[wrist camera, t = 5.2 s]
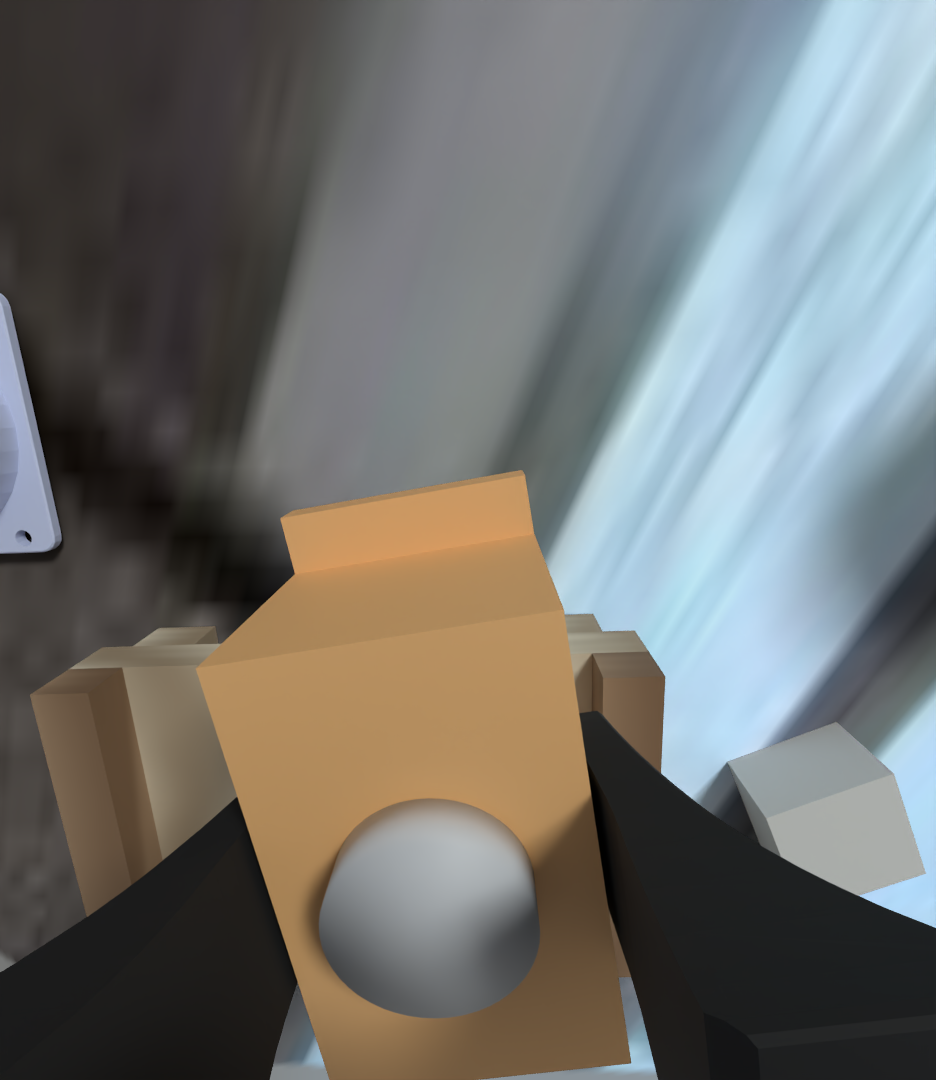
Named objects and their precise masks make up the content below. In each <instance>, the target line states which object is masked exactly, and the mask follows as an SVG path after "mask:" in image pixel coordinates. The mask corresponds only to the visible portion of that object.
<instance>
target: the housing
mask: <svg viewBox="0 0 936 1080" xmlns="http://www.w3.org/2000/svg"><path fill="white" fill-rule="evenodd" d="M280 519H281V523H282V527H283V530H284V534H285V538H286V542H287V545H288V549H289V553H290V557H291V560H292V564H293V568H294V571H295V575H294V576H293V577H292V578H291V579H289V580H288V581H287V582H286V583H285V584H284V585H283V586H282V587H281V588H280V589H279V590H278V591H277V592H276V593H275V594H274V595H273V596H272V597H270V598H269V599H268V600H267V601H266V602H265V603H264V604H263V605H262V606H261V607H260V608H259V609H258V610H257V611H256V612H255V613H254V614H253V615H252V616H250V617H249V618H248V619H247V620H246V621H245V622H244V623H243V624H242V625H241V626H240V627H239V628H238V629H237V630H236V631H235V632H234V633H233V634H231V635H230V636H229V637H228V638H227V639H226V640H225V641H224V642H223V643H222V644H221V645H220V646H219V647H218V648H217V649H216V650H215V651H214V652H213V653H211V654H210V655H209V656H208V657H207V658H206V659H205V660H204V661H203V662H202V663H201V664H200V665H199V666H198V667H197V668H196V671H197V674H198V677H199V680H200V683H201V687H202V690H203V693H204V696H205V699H206V702H207V705H208V708H209V711H210V714H211V717H212V720H213V723H214V726H215V730H216V733H217V736H218V739H219V742H220V745H221V748H222V751H223V754H224V757H225V760H226V763H227V766H228V769H229V773H230V776H231V779H232V782H233V785H234V788H235V791H236V794H237V797H238V800H239V803H240V806H241V809H242V812H243V815H244V819H245V822H246V825H247V828H248V831H249V834H250V837H251V840H252V843H253V846H254V849H255V852H256V855H257V858H258V862H259V865H260V868H261V871H262V874H263V877H264V880H265V883H266V886H267V889H268V892H269V895H270V898H271V901H272V905H273V908H274V911H275V914H276V917H277V920H278V923H279V926H280V929H281V932H282V935H283V938H284V941H285V944H286V948H287V951H288V954H289V957H290V960H291V963H292V966H293V969H294V972H295V975H296V978H297V981H298V984H299V987H300V990H301V994H302V997H303V1000H304V1003H305V1006H306V1009H307V1012H308V1015H309V1018H310V1021H311V1024H312V1027H313V1030H314V1033H315V1037H316V1040H317V1043H318V1046H319V1049H320V1052H321V1055H322V1058H323V1061H324V1064H325V1067H326V1070H327V1073H328V1076H329V1079H330V1080H479V1079H489V1078H498V1077H508V1076H517V1075H526V1074H536V1073H545V1072H554V1071H564V1070H573V1069H583V1068H592V1067H601V1066H611V1065H620V1064H629V1063H631V1058H630V1052H629V1045H628V1038H627V1031H626V1025H625V1018H624V1011H623V1005H622V998H621V991H620V984H619V978H618V971H617V964H616V957H615V951H614V944H613V937H612V931H611V924H610V917H609V910H608V904H607V897H606V890H605V884H604V877H603V870H602V863H601V857H600V850H599V843H598V837H597V830H596V823H595V816H594V810H593V803H592V796H591V790H590V783H589V776H588V769H587V763H586V756H585V749H584V743H583V736H582V729H581V722H580V716H579V709H578V702H577V696H576V689H575V682H574V675H573V669H572V662H571V655H570V649H569V642H568V635H567V628H566V622H565V615H564V609H563V606H562V604H561V601H560V599H559V596H558V594H557V591H556V589H555V586H554V583H553V581H552V578H551V576H550V573H549V571H548V568H547V566H546V563H545V560H544V558H543V555H542V553H541V550H540V548H539V545H538V543H537V540H536V537H535V535H534V531H533V524H532V518H531V511H530V505H529V499H528V492H527V486H526V480H525V475H524V473H523V471H522V470H519V471H514V472H508V473H503V474H497V475H491V476H486V477H480V478H474V479H469V480H463V481H457V482H452V483H446V484H440V485H435V486H429V487H424V488H418V489H412V490H407V491H401V492H395V493H390V494H384V495H378V496H373V497H367V498H362V499H356V500H350V501H345V502H339V503H333V504H328V505H322V506H316V507H311V508H305V509H300V510H294V511H292V512H290V513H288V514H287V515H285V516H283V517H282V518H280Z"/></svg>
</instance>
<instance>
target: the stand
mask: <svg viewBox="0 0 936 1080" xmlns="http://www.w3.org/2000/svg"><path fill="white" fill-rule="evenodd" d="M565 622H566V628H567V635H568V642H569V649H570V655H571V662H572V669H573V675H574V682H575V689H576V696H577V702H578V709H579V713H584V712H591V711H598V712H599V713H601V714H602V715H603V716H604V717H605V718H606V719H607V720H608V722H609V723H610V724H611V725H612V726H613V727H614V728H615V729H616V730H617V732H618V733H619V734H620V735H621V736H622V737H623V738H624V739H625V740H626V741H627V742H628V743H629V744H630V745H631V746H632V747H633V748H634V749H635V750H636V751H637V752H638V753H639V754H640V755H641V756H642V757H643V758H645V759H646V760H647V761H648V762H649V763H650V764H651V765H652V766H653V767H654V768H656V769H657V770H658V771H659V772H660V773H661V758H662V736H663V714H664V692H665V675H664V674H663V672H662V671H661V669H660V668H659V666H658V665H657V663H656V662H655V660H654V659H653V657H652V656H651V654H650V653H649V651H648V650H647V648H646V647H645V645H644V644H643V642H642V641H641V639H640V638H639V636H638V635H637V633H636V632H635V631H607V632H602V630H601V628H600V626H599V624H598V622H597V620H596V618H595V617H594V615H593V614H576V615H565ZM220 645H221V644H218V639H217V633H216V626H208V627H177V628H158V629H157V630H155V631H154V632H153V633H151V634H150V635H148V636H147V637H146V638H144V639H143V640H141V641H140V642H138V643H137V644H136V645H134V646H132V647H102V648H101V649H99V650H98V651H96V652H95V653H93V654H92V655H90V656H89V657H87V658H86V659H84V660H82V661H81V662H79V663H78V664H76V665H75V666H73V667H72V668H70V669H69V670H67V671H66V672H64V673H63V674H61V675H60V676H58V677H56V678H55V679H53V680H52V681H50V682H49V683H47V684H46V685H44V686H43V687H41V688H40V689H38V690H37V691H35V692H34V693H32V694H30V697H31V701H32V705H33V709H34V713H35V717H36V720H37V724H38V728H39V732H40V736H41V740H42V744H43V748H44V752H45V756H46V760H47V763H48V767H49V771H50V775H51V779H52V783H53V787H54V791H55V795H56V799H57V802H58V806H59V810H60V814H61V818H62V822H63V826H64V830H65V834H66V838H67V842H68V845H69V849H70V853H71V857H72V861H73V865H74V869H75V873H76V877H77V881H78V884H79V888H80V892H81V896H82V900H83V904H84V908H85V912H86V916H87V917H88V916H89V915H91V914H92V913H94V912H95V911H96V910H98V909H99V908H100V907H102V906H103V905H105V904H106V903H107V902H109V901H110V900H112V899H113V898H114V897H116V896H117V895H119V894H120V893H121V892H123V891H124V890H125V889H127V888H128V887H129V886H131V885H132V884H133V883H135V882H136V881H137V880H139V879H140V878H141V877H143V876H144V875H145V874H146V873H148V872H149V871H150V870H152V869H153V868H154V867H155V866H157V865H158V864H159V863H160V862H161V861H163V860H164V859H165V858H166V857H167V856H169V855H170V854H171V853H172V852H173V851H175V850H176V849H177V848H178V847H179V846H181V845H182V844H183V843H184V842H185V841H187V840H188V839H189V838H190V837H191V836H193V835H194V834H195V833H196V832H197V831H199V830H200V829H201V828H202V827H203V826H205V825H206V824H207V823H208V822H209V821H210V820H211V819H212V818H214V817H215V816H216V815H217V814H218V813H219V812H220V811H221V810H223V809H224V808H225V807H226V806H227V805H228V804H229V803H230V802H232V801H233V800H234V799H235V798H236V797H237V794H236V791H235V788H234V785H233V782H232V779H231V776H230V773H229V769H228V766H227V763H226V760H225V757H224V754H223V751H222V748H221V745H220V742H219V739H218V736H217V733H216V730H215V726H214V723H213V720H212V717H211V714H210V711H209V708H208V705H207V702H206V699H205V696H204V693H203V690H202V687H201V683H200V680H199V677H198V674H197V671H196V668H197V667H198V666H199V665H200V664H201V663H202V662H203V661H204V660H205V659H206V658H207V657H208V656H209V655H210V654H211V653H213V652H214V651H215V650H216V649H217V648H218V647H219V646H220ZM608 910H609V909H608ZM609 917H610V924H611V931H612V937H613V944H614V951H615V957H616V964H617V971H618V977H631V975H630V972H629V969H628V966H627V963H626V960H625V957H624V954H623V951H622V948H621V945H620V942H619V939H618V936H617V933H616V930H615V927H614V924H613V921H612V918H611V915H610V912H609Z"/></svg>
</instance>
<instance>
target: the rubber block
mask: <svg viewBox="0 0 936 1080" xmlns="http://www.w3.org/2000/svg"><path fill="white" fill-rule="evenodd" d="M728 765H729V767H730V770H731V772H732V775H733V777H734V780H735V782H736V785H737V787H738V790H739V793H740V795H741V798H742V800H743V803H744V805H745V808H746V810H747V813H748V815H749V818H750V820H751V823H752V825H753V828H754V830H755V833H756V835H757V838H758V841H759V843H760V845H761V846H762V847H764V848H766V849H768V850H770V851H771V852H773V853H775V854H777V855H778V856H780V857H782V858H784V859H786V860H787V861H789V862H791V863H793V864H794V865H796V866H798V867H800V868H802V869H804V870H806V871H808V872H810V873H812V874H814V875H816V876H818V877H820V878H822V879H824V880H826V881H828V882H830V883H832V884H834V885H836V886H838V887H840V888H842V889H845V890H847V891H849V892H851V893H853V894H855V895H857V896H859V895H862V894H865V893H868V892H871V891H874V890H877V889H880V888H883V887H886V886H889V885H892V884H895V883H898V882H901V881H904V880H907V879H911V878H914V877H917V876H920V875H923V874H926V873H925V869H924V866H923V863H922V860H921V857H920V854H919V851H918V848H917V844H916V841H915V838H914V835H913V832H912V829H911V826H910V823H909V820H908V816H907V813H906V810H905V807H904V804H903V801H902V798H901V795H900V792H899V788H898V785H897V782H896V779H895V776H894V773H893V772H891V771H890V770H889V769H888V768H887V767H886V766H885V765H884V764H883V763H881V762H880V761H879V760H878V759H877V758H876V757H875V756H874V755H873V754H871V753H870V752H869V751H868V750H867V749H866V748H865V747H864V746H862V745H861V744H860V743H859V742H858V741H857V740H856V739H855V738H854V737H852V736H851V735H850V734H849V733H848V732H847V731H846V730H845V729H844V728H842V727H841V726H840V725H839V724H838V723H837V722H835V723H832V724H830V725H827V726H824V727H821V728H819V729H816V730H813V731H810V732H808V733H805V734H802V735H799V736H797V737H794V738H791V739H788V740H786V741H783V742H780V743H777V744H775V745H772V746H769V747H766V748H764V749H761V750H758V751H755V752H753V753H750V754H747V755H744V756H742V757H739V758H736V759H733V760H731V761H728Z"/></svg>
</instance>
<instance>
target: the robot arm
mask: <svg viewBox="0 0 936 1080" xmlns="http://www.w3.org/2000/svg"><path fill="white" fill-rule="evenodd" d="M25 531H26V532H28V533H29V534H30V536H31V538H32V542H30V541H28V540H27V538H26V536H25ZM61 540H62V538H61V530H60V526H59V521H58V517H57V513H56V508H55V504H54V499H53V495H52V490H51V486H50V481H49V477H48V472H47V468H46V463H45V459H44V455H43V450H42V446H41V441H40V437H39V432H38V428H37V423H36V419H35V414H34V410H33V405H32V401H31V397H30V392H29V388H28V383H27V379H26V374H25V370H24V365H23V361H22V356H21V352H20V347H19V343H18V339H17V334H16V330H15V325H14V321H13V316H12V312H11V307H10V305H9V302H8V300H7V299H6V298H5V297H4V296H3V295H2V294H0V554H6V553H33V552H46V551H49V550H52V549H55V548H57V547H58V546H59V545H60V543H61ZM579 716H580V722H581V729H582V736H583V743H584V749H585V756H586V763H587V769H588V776H589V783H590V790H591V796H592V803H593V810H594V816H595V823H596V830H597V837H598V843H599V850H600V857H601V863H602V870H603V877H604V884H605V890H606V897H607V904H608V909H609V912H610V915H611V918H612V921H613V924H614V927H615V930H616V933H617V936H618V939H619V942H620V945H621V948H622V951H623V954H624V957H625V960H626V963H627V966H628V969H629V972H630V975H631V978H632V981H633V984H634V988H635V991H636V995H637V998H638V1001H639V1005H640V1008H641V1012H642V1016H643V1020H644V1024H645V1028H646V1032H647V1036H648V1040H649V1044H650V1048H651V1052H652V1056H653V1060H654V1064H655V1068H656V1073H657V1077H658V1080H936V928H934V927H932V926H929V925H927V924H924V923H922V922H919V921H917V920H914V919H912V918H909V917H906V916H904V915H901V914H899V913H896V912H894V911H891V910H889V909H886V908H884V907H882V906H879V905H877V904H875V903H873V902H870V901H868V900H866V899H864V898H862V897H860V896H857V895H855V894H853V893H851V892H849V891H847V890H845V889H842V888H840V887H838V886H836V885H834V884H832V883H830V882H828V881H826V880H824V879H822V878H820V877H818V876H816V875H814V874H812V873H810V872H808V871H806V870H804V869H802V868H800V867H798V866H796V865H794V864H793V863H791V862H789V861H787V860H786V859H784V858H782V857H780V856H778V855H777V854H775V853H773V852H771V851H770V850H768V849H766V848H764V847H762V846H761V845H759V844H757V843H756V842H754V841H752V840H751V839H749V838H747V837H746V836H744V835H742V834H741V833H739V832H738V831H736V830H735V829H733V828H732V827H730V826H729V825H727V824H726V823H724V822H723V821H721V820H720V819H718V818H717V817H715V816H714V815H713V814H711V813H710V812H709V811H707V810H706V809H704V808H703V807H702V806H700V805H699V804H698V803H696V802H695V801H694V800H693V799H691V798H690V797H689V796H688V795H686V794H685V793H684V792H683V791H681V790H680V789H679V788H678V787H676V786H675V785H674V784H673V783H672V782H670V781H669V780H668V779H667V778H666V777H665V776H663V775H662V774H661V773H660V772H659V771H658V770H657V769H656V768H654V767H653V766H652V765H651V764H650V763H649V762H648V761H647V760H646V759H645V758H643V757H642V756H641V755H640V754H639V753H638V752H637V751H636V750H635V749H634V748H633V747H632V746H631V745H630V744H629V743H628V742H627V741H626V740H625V739H624V738H623V737H622V736H621V735H620V734H619V733H618V732H617V730H616V729H615V728H614V727H613V726H612V725H611V724H610V723H609V722H608V720H607V719H606V718H605V717H604V716H603V715H602V714H601V713H599V712H598V711H591V712H584V713H579ZM297 982H298V981H297V978H296V975H295V972H294V969H293V966H292V963H291V960H290V957H289V954H288V951H287V948H286V944H285V941H284V938H283V935H282V932H281V929H280V926H279V923H278V920H277V917H276V914H275V911H274V908H273V905H272V901H271V898H270V895H269V892H268V889H267V886H266V883H265V880H264V877H263V874H262V871H261V868H260V865H259V862H258V858H257V855H256V852H255V849H254V846H253V843H252V840H251V837H250V834H249V831H248V828H247V825H246V822H245V819H244V815H243V812H242V809H241V806H240V803H239V800H238V797H236V798H235V799H234V800H233V801H232V802H230V803H229V804H228V805H227V806H226V807H225V808H224V809H223V810H221V811H220V812H219V813H218V814H217V815H216V816H215V817H214V818H212V819H211V820H210V821H209V822H208V823H207V824H206V825H205V826H203V827H202V828H201V829H200V830H199V831H197V832H196V833H195V834H194V835H193V836H191V837H190V838H189V839H188V840H187V841H185V842H184V843H183V844H182V845H181V846H179V847H178V848H177V849H176V850H175V851H173V852H172V853H171V854H170V855H169V856H167V857H166V858H165V859H164V860H163V861H161V862H160V863H159V864H158V865H157V866H155V867H154V868H153V869H152V870H150V871H149V872H148V873H146V874H145V875H144V876H143V877H141V878H140V879H139V880H137V881H136V882H135V883H133V884H132V885H131V886H129V887H128V888H127V889H125V890H124V891H123V892H121V893H120V894H119V895H117V896H116V897H114V898H113V899H112V900H110V901H109V902H107V903H106V904H105V905H103V906H102V907H100V908H99V909H98V910H96V911H95V912H94V913H92V914H91V915H89V916H88V917H86V918H85V919H83V920H82V921H80V922H79V923H77V924H76V925H74V926H73V927H71V928H70V929H68V930H67V931H65V932H63V933H62V934H60V935H59V936H57V937H56V938H54V939H53V940H51V941H49V942H48V943H46V944H45V945H43V946H42V947H40V948H39V949H37V950H35V951H34V952H32V953H31V954H29V955H28V956H26V957H25V958H23V959H21V960H20V961H18V962H17V963H15V964H14V965H12V966H10V967H9V968H7V969H5V970H4V971H2V972H0V1080H270V1075H271V1071H272V1067H273V1062H274V1058H275V1054H276V1050H277V1047H278V1043H279V1040H280V1036H281V1033H282V1029H283V1026H284V1022H285V1019H286V1016H287V1013H288V1009H289V1006H290V1003H291V1000H292V997H293V994H294V991H295V988H296V985H297Z"/></svg>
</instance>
